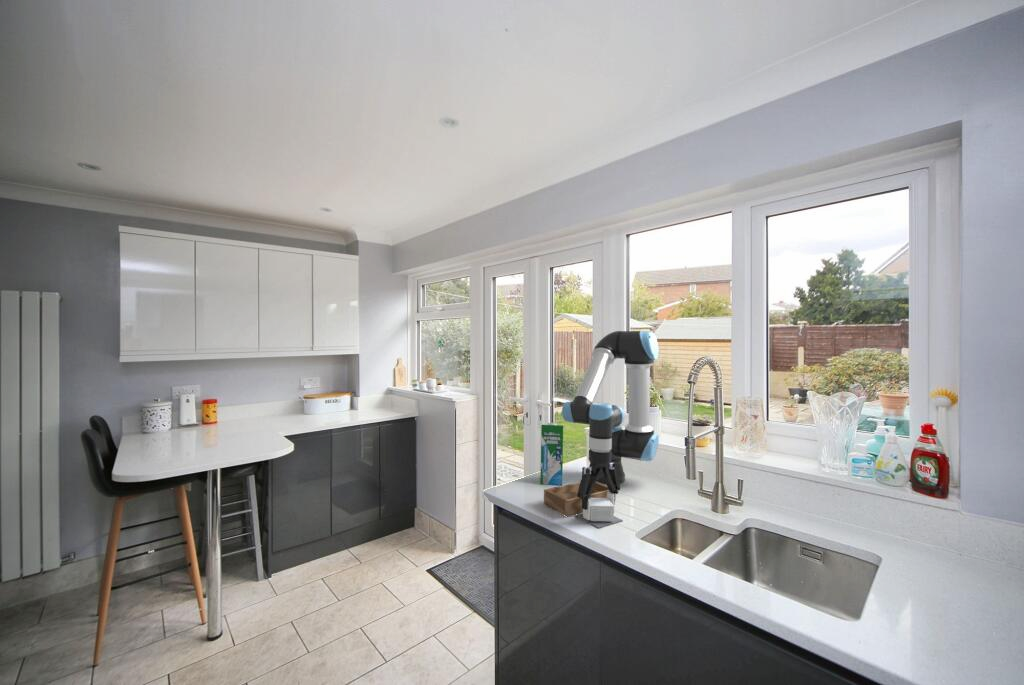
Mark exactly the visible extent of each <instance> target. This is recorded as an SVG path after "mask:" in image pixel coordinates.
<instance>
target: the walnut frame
mask: <svg viewBox="0 0 1024 685" xmlns="http://www.w3.org/2000/svg"><path fill="white" fill-rule="evenodd" d="M579 485H580V481H577V482H573V483H568V484H562V485H557V486H555V487H554V486H553V487H550V488H545V489H543V506H545V505H546V506H545V507H547V506H548V507H547V508H549V509H550V510H553V511H554V510H555V512H556V511H557V513H558V512H559V513H558V514H560V513H561V514H560V515H562V514H563V515H562V516H564V515H565V516H567V517H566V518H568V516H570V517H572V515H573V516H576V514H577V515H578V514H582V513H583V509H582V499H581V498H579V497H577V494H578V490H579ZM607 492H610V491H609V489H608V487H607V485H606V484H604V483H600V482H596V483H595V485H594V488H593V490H592V492H591V495H590V497H589V498H607ZM585 496H586V495H585ZM614 505H616V501H615V502H614ZM565 516H564V517H565Z"/></svg>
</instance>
